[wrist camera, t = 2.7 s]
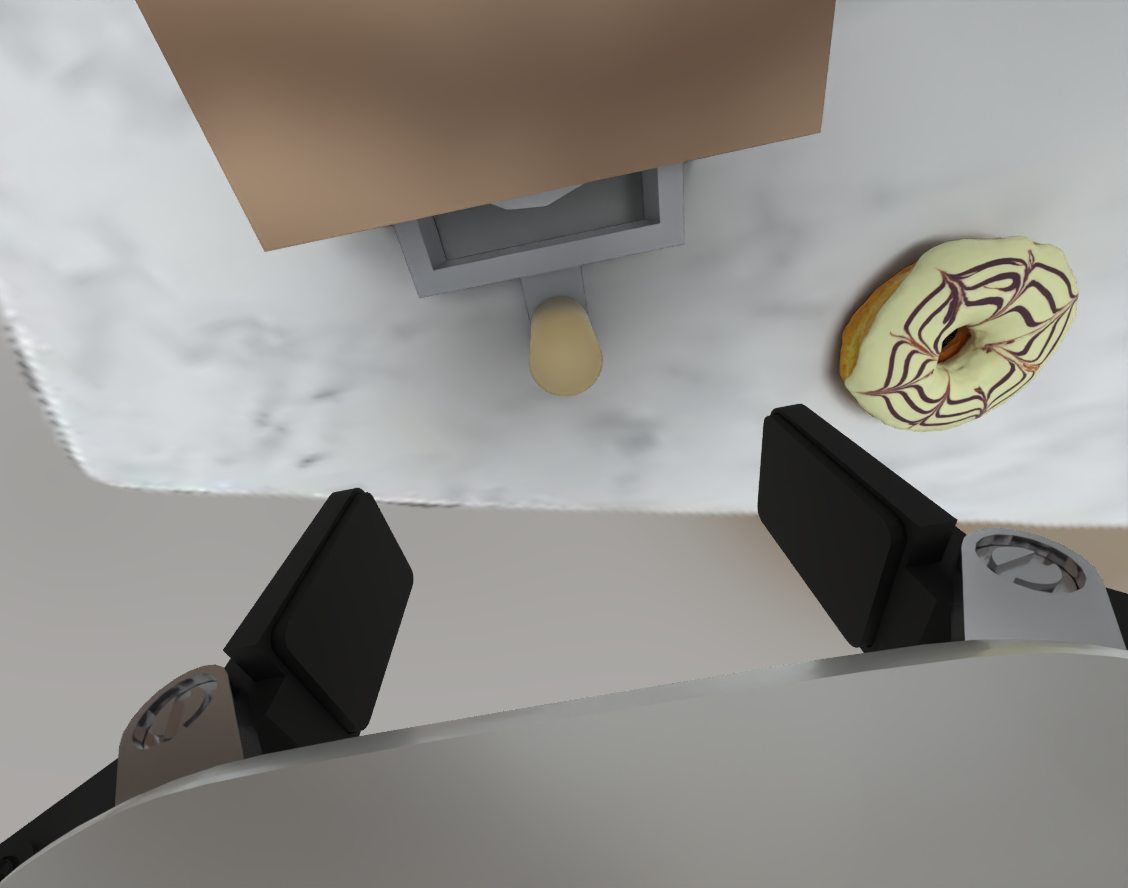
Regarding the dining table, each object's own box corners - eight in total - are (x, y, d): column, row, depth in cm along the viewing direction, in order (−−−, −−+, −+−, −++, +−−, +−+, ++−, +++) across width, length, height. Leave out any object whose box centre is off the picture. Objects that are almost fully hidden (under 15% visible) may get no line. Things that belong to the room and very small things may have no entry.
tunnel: (324, 65, 17) (100, -69, 8) (691, -22, 16) (866, -269, 8) (383, 226, 20) (264, 251, 11) (694, 159, 19) (820, 132, 11)
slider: (240, -300, 12) (-2, -698, 7) (636, -413, 12) (721, -952, 6) (463, 375, 24) (440, 430, 18) (671, 335, 23) (712, 379, 18)
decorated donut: (895, 212, 21) (960, 215, 18) (1062, 256, 23) (1149, 266, 20) (798, 396, 26) (835, 424, 23) (940, 421, 28) (993, 451, 25)
